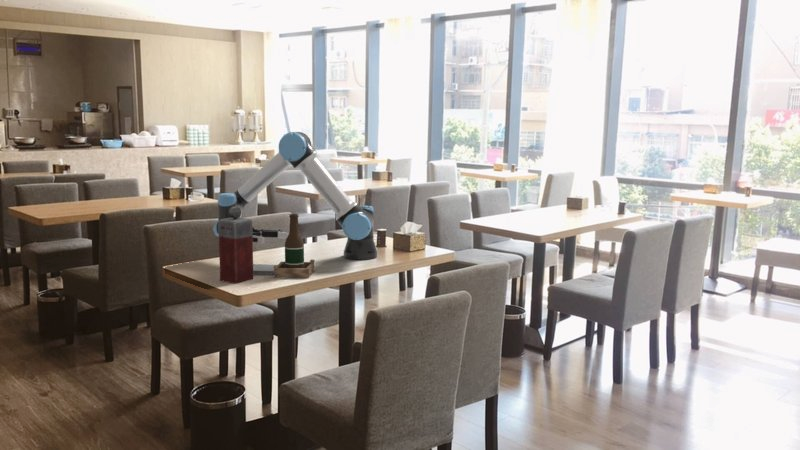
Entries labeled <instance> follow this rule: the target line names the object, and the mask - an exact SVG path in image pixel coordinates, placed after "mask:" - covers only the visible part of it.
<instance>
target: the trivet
mask: <svg viewBox="0 0 800 450" xmlns="http://www.w3.org/2000/svg"><path fill="white" fill-rule="evenodd" d="M274 265H275V264H263V263H262V264H258V263H253V275H259V276H260V275H267V276H270V275H271V276H273V275H274Z"/></svg>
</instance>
